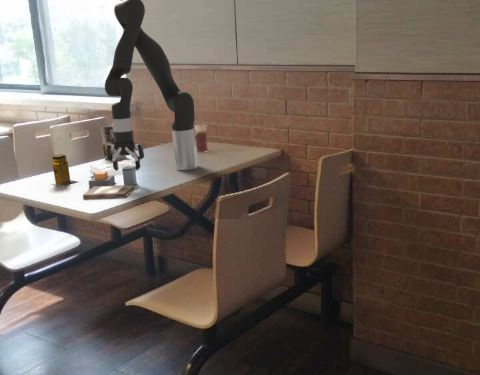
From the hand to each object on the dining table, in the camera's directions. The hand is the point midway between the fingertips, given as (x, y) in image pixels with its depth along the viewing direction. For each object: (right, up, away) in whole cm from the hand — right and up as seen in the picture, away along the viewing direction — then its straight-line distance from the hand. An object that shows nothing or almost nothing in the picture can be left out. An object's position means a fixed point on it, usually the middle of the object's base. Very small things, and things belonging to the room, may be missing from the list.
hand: (127, 169), depth 236 cm
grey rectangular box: (+1, -6, +1) cm, 6 cm away
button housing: (-11, -6, +4) cm, 13 cm away
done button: (-11, -4, +3) cm, 12 cm away
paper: (-12, 0, +27) cm, 30 cm away
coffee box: (-16, +7, +54) cm, 57 cm away
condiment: (-28, -5, +12) cm, 31 cm away
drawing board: (-5, -9, -9) cm, 14 cm away
